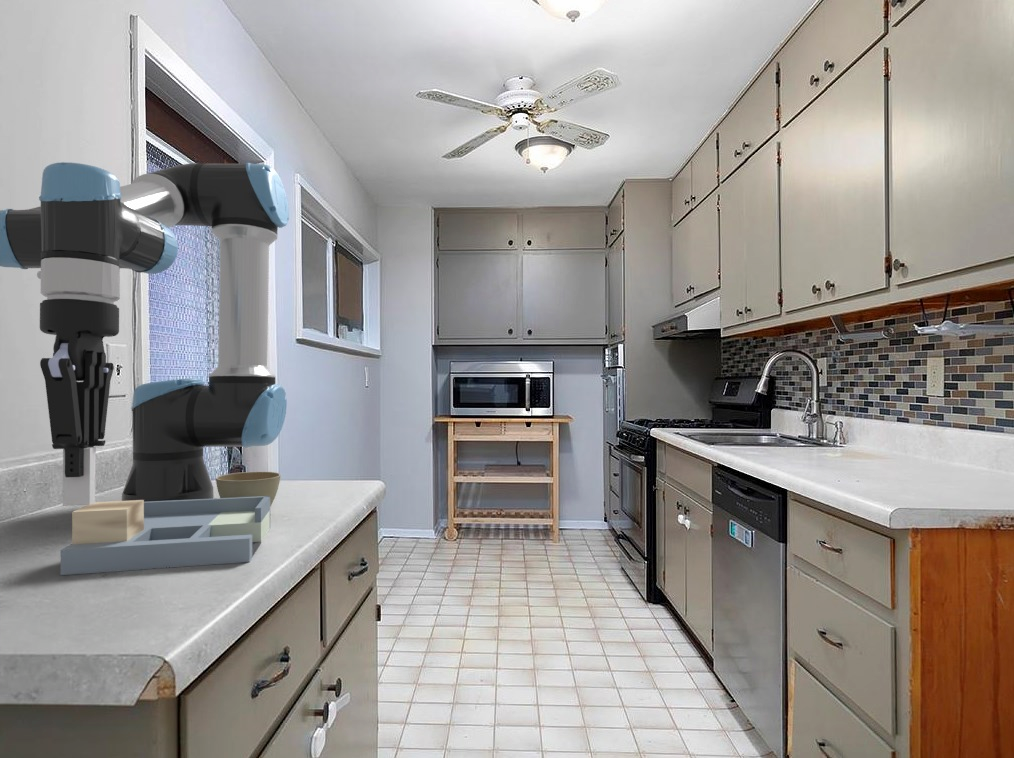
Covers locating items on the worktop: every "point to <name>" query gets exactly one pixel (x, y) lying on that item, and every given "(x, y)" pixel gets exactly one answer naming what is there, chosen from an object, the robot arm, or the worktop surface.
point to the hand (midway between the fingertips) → (79, 504)
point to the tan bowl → (248, 484)
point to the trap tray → (180, 537)
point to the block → (107, 521)
